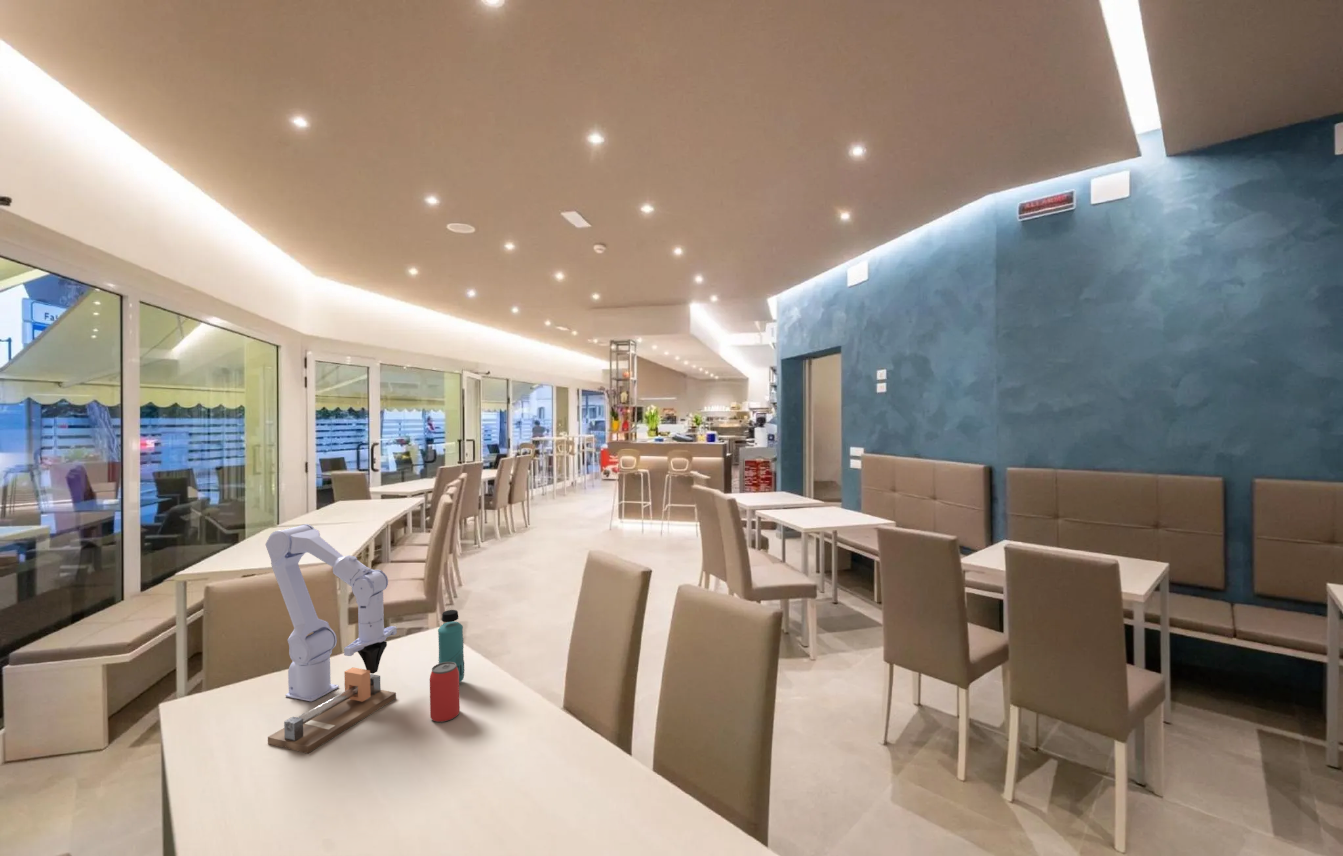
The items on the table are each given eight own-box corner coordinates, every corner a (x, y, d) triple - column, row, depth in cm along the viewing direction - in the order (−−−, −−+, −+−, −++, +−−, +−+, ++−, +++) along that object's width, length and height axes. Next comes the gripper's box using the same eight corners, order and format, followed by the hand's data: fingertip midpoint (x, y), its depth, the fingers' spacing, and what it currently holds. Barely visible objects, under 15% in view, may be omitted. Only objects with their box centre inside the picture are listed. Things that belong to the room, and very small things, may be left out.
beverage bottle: (455, 692, 143) (454, 616, 143) (433, 689, 144) (431, 615, 144) (469, 680, 149) (468, 608, 149) (448, 678, 151) (446, 606, 150)
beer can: (464, 709, 135) (463, 661, 134) (451, 724, 128) (450, 673, 128) (439, 708, 135) (438, 660, 135) (424, 722, 129) (423, 672, 129)
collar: (345, 698, 136) (344, 671, 136) (353, 693, 138) (352, 667, 138) (362, 701, 134) (361, 674, 134) (370, 696, 137) (369, 670, 136)
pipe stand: (284, 739, 120) (284, 721, 120) (371, 689, 142) (371, 674, 142) (294, 741, 119) (294, 723, 119) (380, 690, 141) (380, 675, 141)
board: (267, 743, 121) (267, 736, 121) (359, 691, 144) (359, 685, 144) (307, 753, 117) (307, 746, 117) (395, 698, 140) (395, 692, 140)
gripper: (359, 632, 132) (360, 687, 132) (405, 611, 146) (406, 661, 146) (337, 629, 134) (338, 683, 135) (384, 609, 148) (385, 658, 148)
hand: (372, 672), depth 141 cm, fingers closed
